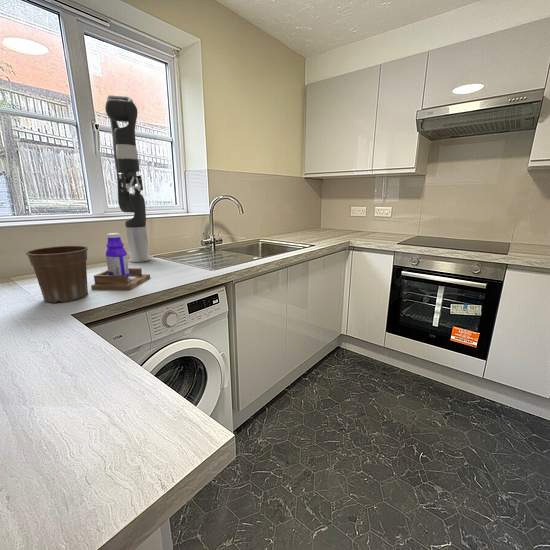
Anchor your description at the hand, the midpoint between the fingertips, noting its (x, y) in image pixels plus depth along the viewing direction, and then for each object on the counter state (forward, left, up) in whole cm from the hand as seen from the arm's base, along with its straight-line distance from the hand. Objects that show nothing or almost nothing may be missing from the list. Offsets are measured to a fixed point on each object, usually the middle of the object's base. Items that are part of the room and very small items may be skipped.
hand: (132, 201), depth 118 cm
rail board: (+13, -1, -30) cm, 33 cm away
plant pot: (+29, -11, -30) cm, 43 cm away
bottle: (+13, -2, -29) cm, 31 cm away
